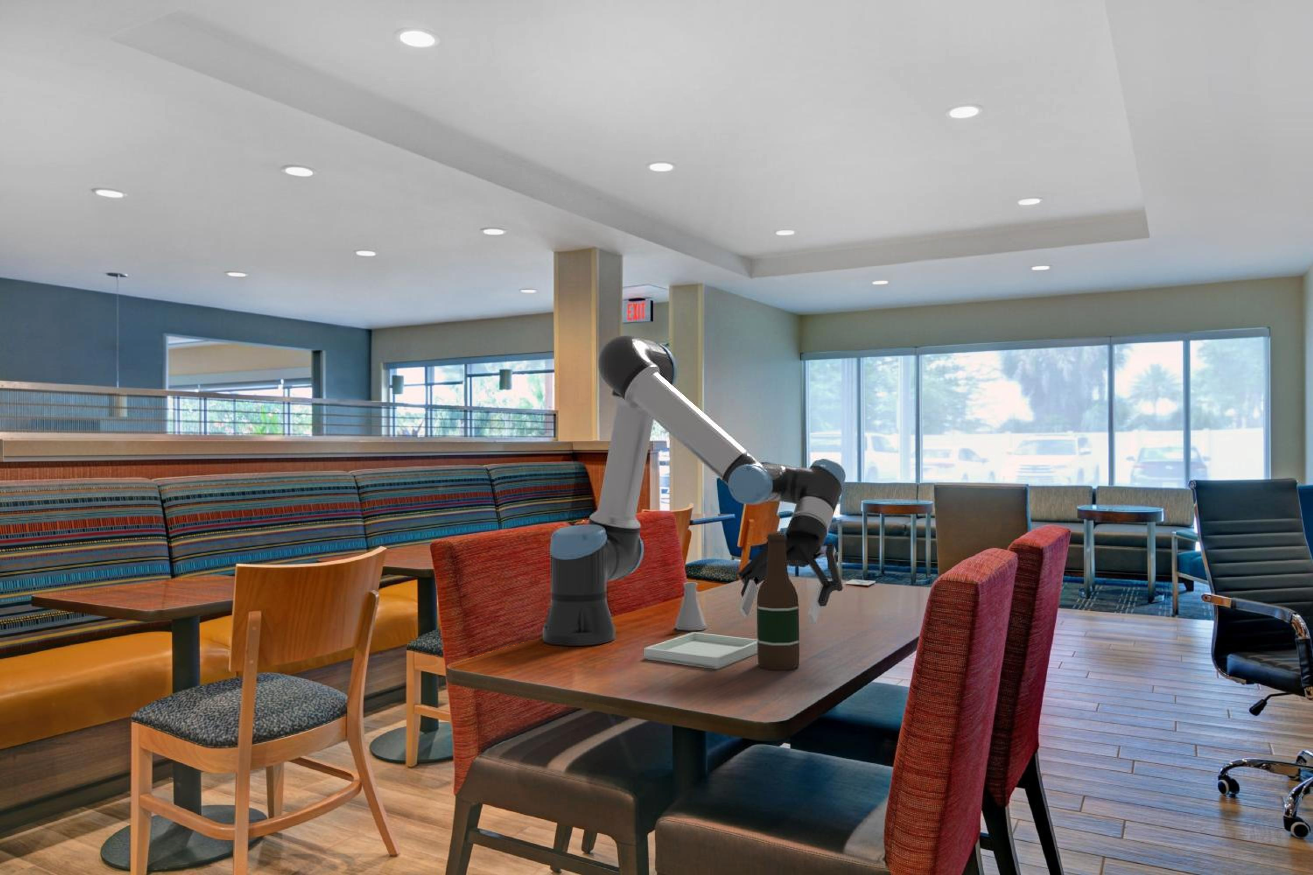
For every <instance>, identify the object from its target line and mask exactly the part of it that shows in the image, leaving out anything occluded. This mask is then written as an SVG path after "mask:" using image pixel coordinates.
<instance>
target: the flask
mask: <svg viewBox="0 0 1313 875" xmlns="http://www.w3.org/2000/svg"><path fill="white" fill-rule="evenodd" d="M682 585H683V588H684V594H683V599H682V604H681V607H680V611H679V613H678V616H677V618H676V622H675V625H674V628H675V629H676V630H678V631H687V632H688V631H691V632H694V631H703V630H705V629H708V626H707V624H706V620H705V617H704V615H703V611H702V609H701V606H700V603H699V599H698V593H697V587H698V583H697V582H683V583H682Z"/></svg>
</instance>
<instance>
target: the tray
mask: <svg viewBox="0 0 1313 875" xmlns="http://www.w3.org/2000/svg"><path fill="white" fill-rule="evenodd" d="M753 655H754V656H755V655H758V653H757V638H748V637H738V636H730V635H722V634H721V635H720V634H714V633H713V634H712V633H705V632H698V631H697V632H696V631H691V632H690V633H686V634H684V635H680V636H677V637H675V638H670V639H668V640H665V641H662V642H659V643H656V644H653V645H650V646H647V647H644V648H643V659H644V660H650V661H657V662H664V663H671V664H679V665H686V666H693V667H698V668H707V669H714V670H720V669H722V668H725V667H727V666H729V665H732V664H734V663H737V662H739V661H742V660H744V659H746V658H749V657H751V656H753Z"/></svg>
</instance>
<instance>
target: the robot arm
mask: <svg viewBox="0 0 1313 875" xmlns="http://www.w3.org/2000/svg"><path fill="white" fill-rule="evenodd" d="M597 363H598V371H599V374H600V376H601V378H602V380H603V381H604V382H605V384H606V385H607V386H609V387H610V389H612V393H611V398H612V399H613V400H614V402H615V404H616V408H615V415H614V420H613V426H612V431H611V435H610V442H609V447H608V452H607V459H606V463H605V464H606V465H605V468H604V469H605V470H604V475H603V481H602V486H601V491H600V496H599V502H598V508H597V510H596V511H594V512H593V513H592V514H590V516H589V520H588V523H587V524H575V525H573V526H572V525H569V526H565V527H561V528H558V529H556V530H554V532H553V533H552V534H551V537H550V546H549V554H550V557H549V558H550V605H549V608H548V610H547V614H546V618H545V623H544V626H543V628H542V641H543V642H545V643H547V644H551V645H556V646H565V647H569V646H571V647H575V646H576V647H581V646H595V645H601V644H606V643H609V642H611V641H613V640H615V639H616V626H615V624H614V623H613V619H612V614H611V611H610V608H609V605H608V601H607V600H608V599H607V582H611V581H617V580H621V579H623V578H625V577H627V576H629V575H631V574H632V573H633V572H635V571H636V570H637V569H638V568H639V566H640V564H641V562H642V560H643V558H644V553H645V551H644V549H645V548H644V542H643V539H642V538H641V536H640V534H641V528H642V526H641V523H640V521H639V520H638V519H637V511H638V505H639V500H640V495H641V490H642V485H643V479H644V474H645V473H644V472H645V467H646V462H647V456H648V453H649V452H648V451H649V445H650V443H651V442H650V440H651V436H652V430H653V425H654V421H655V422H656V423H658V424H659V425H660V426H661V427H662V428H663V429H664V430H665V431H666V432H668V433H669V434H670V435H671V436H672V437H673V438H674V439H675V440H676V441H677V442H678V443H680V444H681V445H682V446H684V448H685V449H686V450H688V451H689V452H690V453H691V454H693V456H694V457H696V458H697V460H699V461H700V462H701V463H702V464H703V465H704V466H706V468H707V469H709V470H710V471H711V472H712V474H715V475H716V476H717V478H718V479H720V480H721V481H722V482H723V483H724V484H726V485H727V486H728V487H727V488H728V490H729V493H730V494H731V495H730V496H732V498H733V499H734V500H735V501H737V502H738V503H740V504H743V505H744V504H745V505H749V506H752V505H754V506H755V505H761V504H762V503H768V502H781V503H788V504H789V503H790V504H794V505H795V507H794V509H793V512H792V514H791V518H790V520H789V523H788V525H787V528H786V531H785V533H784V534H786V537H787V540H786V541H785V543H786V557H787V567H788V566H789V567H792V568H793V567H800V568H806V566H809V568H811V570H812V571H813V573H814V575H815V576H816V578H817V579H818V581H819V583H820V584H817V585H816V587H815V591H814V594H813V597H812V600H811V602H810V605H809V609H808V612H807V616H808V618H809V620H810V622H811V624H817V622H818V618H819V615H820V612H821V609H822V607H826V606H827V604H828V602H829V599H830V596H831V594H832V593H833V592H834V591H837V592H842V591H843V589H844V587H843V583H842V579H841V576H840V572H839V568H838V564H837V555H838V551H837V549H836V547H835V544H834V543H833V542H828V543H827V545H824V544H825V541H826V540H827V537H828V532H829V529H830V526H831V523H832V520H833V517H834V515H835V512H836V509H837V506H838V503H839V501H840V498H841V496H842V494H843V492H844V485H845V481H846V478H847V477H846V476H847V475H846V471H845V469H844V468H843V466H842V465H841V464H839V463H838V462H837V461H835V460H833V459H830V458H821V459H817V460H814V461H813V462H812V463H811V465H810V466H809V467H800V466H799V467H797V466H792V465H791V466H790V465H785V464H779V463H773V462H768V461H759V460H758V459H757V458H756V457H755V456H753V455H752V454H751V453H749V451H747V450H746V448H744V447H743V446H742V445H741V444H739V442H737V441H736V440H735V439H734V438H733V437H732V436H730V435H729V434H728V433H727V432H726V431H725V430H724V429H722V428H721V427H720V426H719V425H718V424H717V423H715V422H714V421H713V420H712V419H711V418H710V417H709V416H707V414H705V413H704V412H703V411H702V410H700V409H699V408H698V406H696V405H695V404H694V403H693V402H691V401H690V400H689V398H687V397H686V396H684V395H683V394H682V393H681V392H680V391H679V390H678V389H677V388H676V387H674V385H675V382H676V379H677V375H678V367H677V366H678V365H677V361H676V359H675V357H674V355H673V353H672V352H671V351H670V350H669V349H668V348H667V347H666V346H664V345H662V344H661V343H658V342H656V341H653V340H648V339H644V338H643V339H642V338H639V337H636V336H632V335H620V336H617V337H613V338H612V339H611V340H609V341H608V342H607V343H606V344H604V346H603V347H602V349H601V350H600V352H599V357H598V362H597ZM822 555H823V556H824V557H825V558H826V561H827V565H828V567H829V568H828V569H829V572H830V576H831V580H829V579H828V578H827V577H826V574H825V573H824V572H823V570H822V568H821V567H820V565H819V563H818V562H817V559H819V557H821V556H822ZM767 558H768V540H767V541H766V542H765V544H764V546H763V547H762V549H761V550H760V551H759V552H758V553H757V554H756V555H755V556H754V557H752V559H751V560H750V561H749V562H748V563H747V564H746V565H745V566H744V567H743V568H741V570H740V571H739V572H738V577H739V579H740V581H741V582H742V583H743V587H742V589H741V591H740V595H741V597H742V598H741V600H740V603H739V606H738V609H739V611H740V613H741V614H742V617H745V618H747V617H748V616H749V613H750V610H751V608H752V605H753V603H754V601H755V598H756V595H757V594H758V591H759V587H758V586H757V585H759V584H760V583H762V582H763V581H764V579H765V578H766V572H767Z"/></svg>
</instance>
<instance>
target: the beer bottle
mask: <svg viewBox="0 0 1313 875" xmlns="http://www.w3.org/2000/svg"><path fill="white" fill-rule="evenodd" d="M766 540H767V541H768V558H767V572H766V578H765V579H764V580H763V581H762V582H761V584H760V586H759V587H758V590H757V593H756V595H757V597H756V598H757V599H756V634H757V635H756V639H757V663H758V665H759V667H760V668H761V669H763V670H764V669H765V670H769V671H791V670H794V669H797V668H799V666H800V616H799V615H800V609H799V608H800V607H799V606H800V605H799V596H798V592H797V590H796V587H795V586H794V584H793V582H792V580H791V578H790V576H789V572H788V571H789V570H788V566H787V557H786V543H785V541H786V540H787V537H786V534H785V533H784V532H769V533H767V535H766Z"/></svg>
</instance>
